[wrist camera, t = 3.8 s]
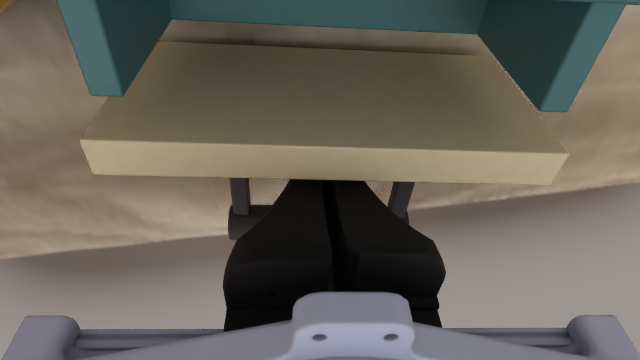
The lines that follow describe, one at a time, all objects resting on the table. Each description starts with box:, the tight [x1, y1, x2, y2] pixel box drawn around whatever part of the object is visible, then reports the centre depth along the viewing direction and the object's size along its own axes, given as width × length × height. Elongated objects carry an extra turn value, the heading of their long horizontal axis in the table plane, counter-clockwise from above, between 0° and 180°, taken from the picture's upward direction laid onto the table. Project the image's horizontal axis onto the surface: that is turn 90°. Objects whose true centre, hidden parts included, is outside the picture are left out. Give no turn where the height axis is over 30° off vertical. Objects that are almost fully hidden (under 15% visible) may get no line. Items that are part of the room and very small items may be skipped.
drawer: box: [56, 0, 626, 240], centre depth 11 cm, size 18×13×6 cm
